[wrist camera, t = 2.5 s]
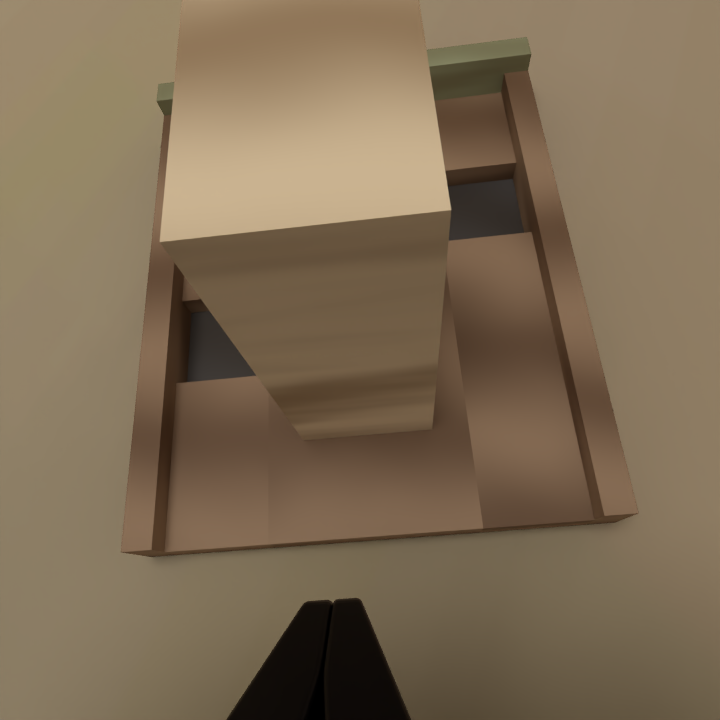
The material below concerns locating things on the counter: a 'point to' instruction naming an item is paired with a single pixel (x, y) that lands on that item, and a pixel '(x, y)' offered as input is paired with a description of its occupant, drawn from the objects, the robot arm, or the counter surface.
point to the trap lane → (453, 385)
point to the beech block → (314, 203)
